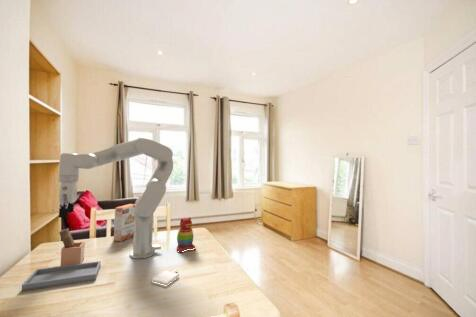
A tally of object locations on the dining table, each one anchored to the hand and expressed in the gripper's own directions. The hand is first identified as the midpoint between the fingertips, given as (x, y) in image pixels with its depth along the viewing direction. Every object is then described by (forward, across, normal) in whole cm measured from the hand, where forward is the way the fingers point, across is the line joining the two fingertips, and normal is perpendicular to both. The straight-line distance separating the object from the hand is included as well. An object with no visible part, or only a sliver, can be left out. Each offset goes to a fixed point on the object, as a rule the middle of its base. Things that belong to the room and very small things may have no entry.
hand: (66, 214), depth 107 cm
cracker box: (+24, +32, -25) cm, 47 cm away
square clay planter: (+24, 0, -4) cm, 24 cm away
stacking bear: (+23, +2, -58) cm, 62 cm away
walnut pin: (+15, 0, -2) cm, 15 cm away
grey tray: (+24, -14, -4) cm, 28 cm away
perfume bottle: (+24, -28, -45) cm, 58 cm away
